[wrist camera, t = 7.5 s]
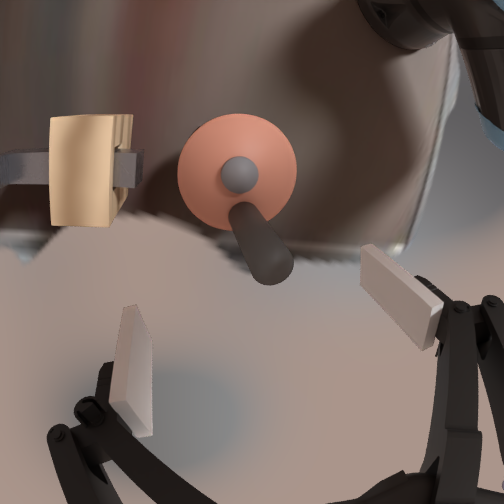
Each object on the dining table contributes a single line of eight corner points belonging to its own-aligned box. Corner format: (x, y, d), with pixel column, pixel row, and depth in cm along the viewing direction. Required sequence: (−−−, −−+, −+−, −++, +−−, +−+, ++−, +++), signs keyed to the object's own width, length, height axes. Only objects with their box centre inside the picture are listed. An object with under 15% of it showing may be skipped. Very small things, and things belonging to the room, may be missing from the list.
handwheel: (169, 123, 28) (160, 129, 17) (288, 108, 30) (346, 111, 19) (188, 236, 33) (194, 300, 23) (295, 217, 35) (346, 268, 24)
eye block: (133, 114, 32) (113, 115, 22) (127, 195, 36) (109, 227, 26) (86, 114, 31) (50, 117, 21) (83, 194, 35) (51, 225, 25)
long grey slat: (144, 149, 28) (127, 158, 23) (142, 180, 30) (125, 197, 24) (15, 149, 26) (-19, 160, 20) (15, 177, 27) (-17, 192, 21)
